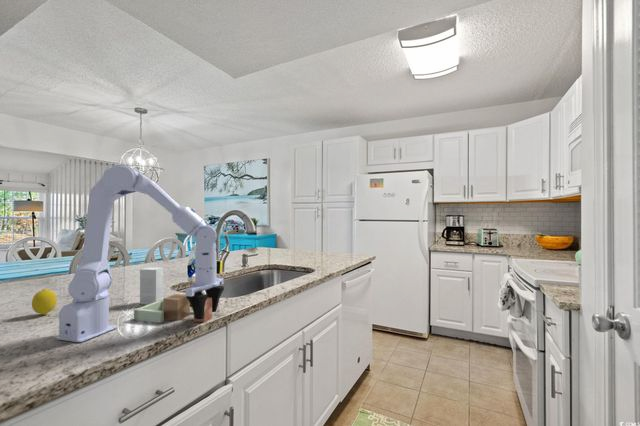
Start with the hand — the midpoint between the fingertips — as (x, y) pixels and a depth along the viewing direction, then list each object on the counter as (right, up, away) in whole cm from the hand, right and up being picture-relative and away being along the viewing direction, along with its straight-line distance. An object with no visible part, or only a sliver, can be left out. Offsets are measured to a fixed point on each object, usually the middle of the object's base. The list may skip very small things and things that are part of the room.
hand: (206, 315), depth 83 cm
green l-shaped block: (-15, -2, +4) cm, 16 cm away
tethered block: (-6, -1, +1) cm, 6 cm away
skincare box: (-26, -2, +17) cm, 31 cm away
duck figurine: (-9, -2, +18) cm, 20 cm away
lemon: (-51, -2, +5) cm, 52 cm away
